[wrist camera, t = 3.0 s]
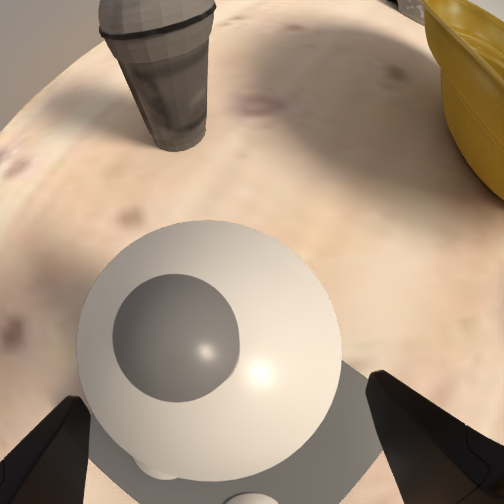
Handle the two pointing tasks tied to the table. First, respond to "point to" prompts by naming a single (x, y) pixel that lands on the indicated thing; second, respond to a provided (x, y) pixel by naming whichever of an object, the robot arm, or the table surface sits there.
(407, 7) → the dog bowl
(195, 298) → the white lotion bottle
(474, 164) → the planter bowl
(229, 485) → the charging dock
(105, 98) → the table surface
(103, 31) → the beverage cup
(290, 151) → the table surface
